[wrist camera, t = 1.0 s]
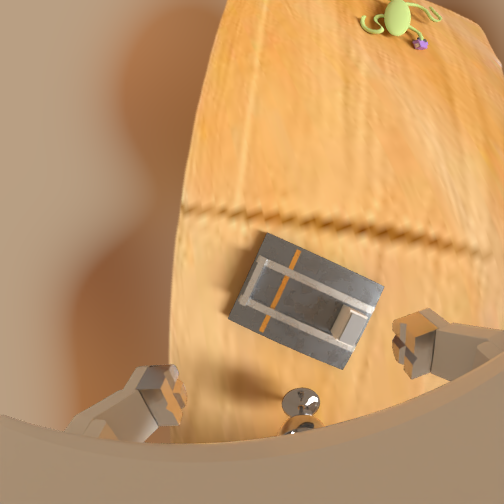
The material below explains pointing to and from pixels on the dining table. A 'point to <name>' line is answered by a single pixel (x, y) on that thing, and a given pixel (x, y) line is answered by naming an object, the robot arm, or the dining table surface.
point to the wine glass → (300, 411)
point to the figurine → (400, 21)
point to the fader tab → (348, 325)
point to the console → (302, 300)
